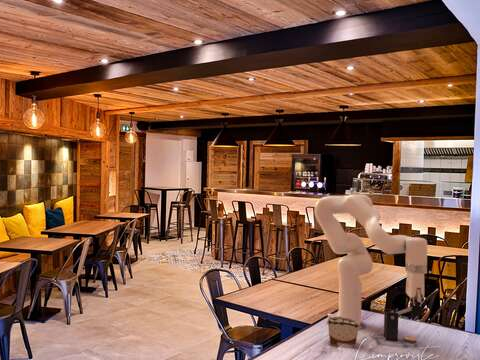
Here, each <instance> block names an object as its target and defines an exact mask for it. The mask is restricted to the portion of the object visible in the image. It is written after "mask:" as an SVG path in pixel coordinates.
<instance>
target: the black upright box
mask: <svg viewBox="0 0 480 360" xmlns="http://www.w3.org/2000/svg"><path fill="white" fill-rule="evenodd" d="M391 311H393V312H391ZM383 312H384V314H383V337H384V339H385V341H389V342H396V343H397V342H399V315H398V314H399V313H396V312H398V310H396V309H389V308H384V311H383Z"/></svg>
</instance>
